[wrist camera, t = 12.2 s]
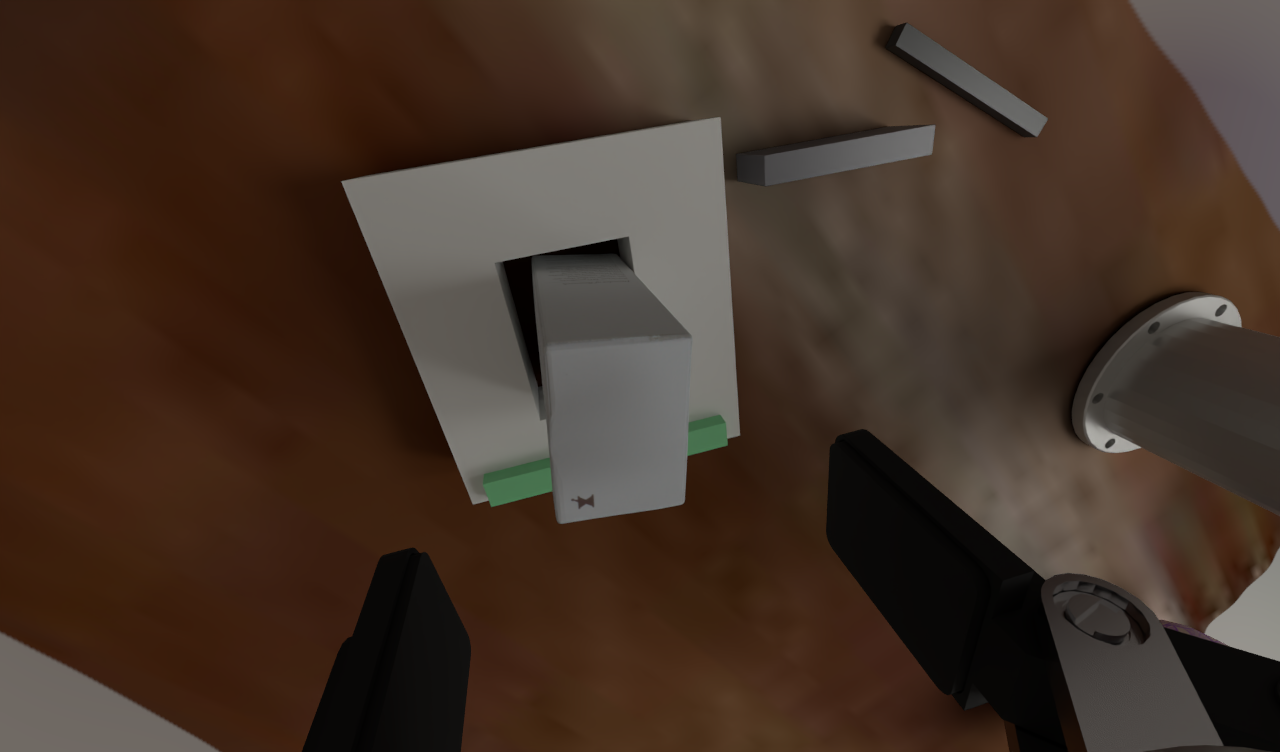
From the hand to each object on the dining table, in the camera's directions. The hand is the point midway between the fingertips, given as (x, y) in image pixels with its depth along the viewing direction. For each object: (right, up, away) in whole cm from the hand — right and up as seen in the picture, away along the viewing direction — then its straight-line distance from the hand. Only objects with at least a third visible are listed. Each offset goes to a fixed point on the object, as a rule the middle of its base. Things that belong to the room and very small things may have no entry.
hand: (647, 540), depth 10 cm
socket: (-4, +7, +14) cm, 16 cm away
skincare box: (-3, +7, +14) cm, 16 cm away
